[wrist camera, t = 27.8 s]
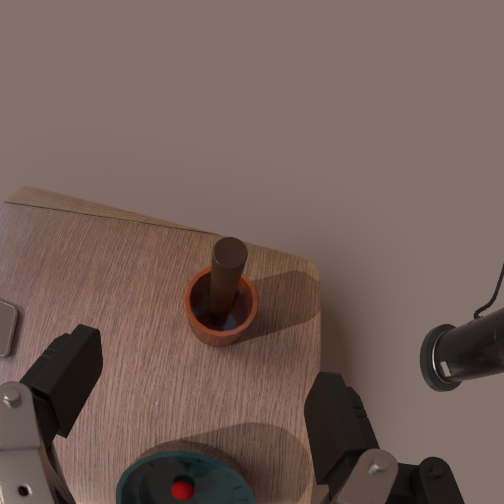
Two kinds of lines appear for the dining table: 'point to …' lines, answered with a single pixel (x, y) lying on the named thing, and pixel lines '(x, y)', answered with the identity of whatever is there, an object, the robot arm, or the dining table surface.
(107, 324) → the dining table surface
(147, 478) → the mixing bowl
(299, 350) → the dining table surface
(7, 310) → the smartphone
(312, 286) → the dining table surface
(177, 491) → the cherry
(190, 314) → the utensil cup
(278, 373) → the dining table surface
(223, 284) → the stirring stick
